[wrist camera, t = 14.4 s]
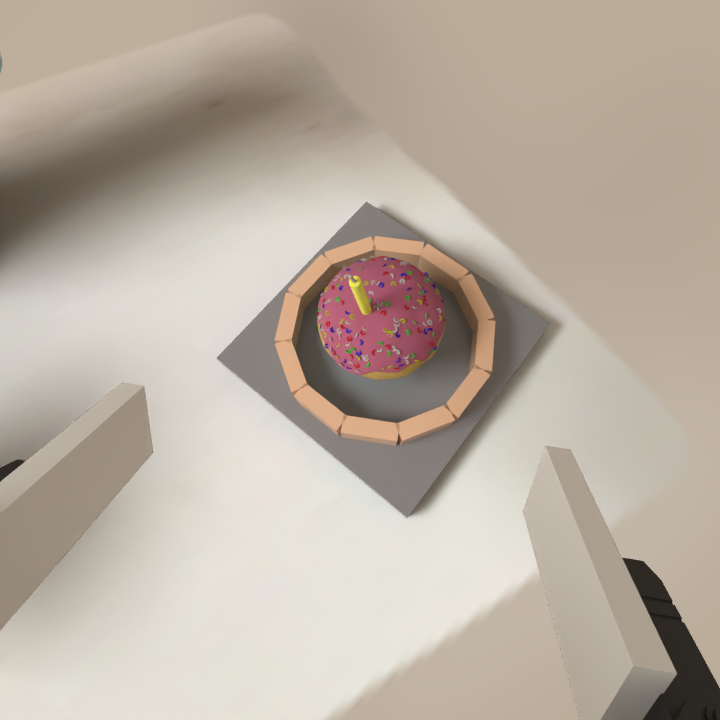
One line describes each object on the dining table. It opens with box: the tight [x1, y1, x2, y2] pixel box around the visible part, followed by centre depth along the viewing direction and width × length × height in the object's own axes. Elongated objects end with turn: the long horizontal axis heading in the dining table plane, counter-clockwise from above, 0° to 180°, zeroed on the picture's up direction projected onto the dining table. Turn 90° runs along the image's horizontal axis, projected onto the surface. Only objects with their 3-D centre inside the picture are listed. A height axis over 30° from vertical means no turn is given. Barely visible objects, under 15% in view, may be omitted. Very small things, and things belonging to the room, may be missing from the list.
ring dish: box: [217, 202, 551, 518], centre depth 34 cm, size 18×18×4 cm
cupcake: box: [317, 256, 445, 380], centre depth 29 cm, size 9×8×12 cm
